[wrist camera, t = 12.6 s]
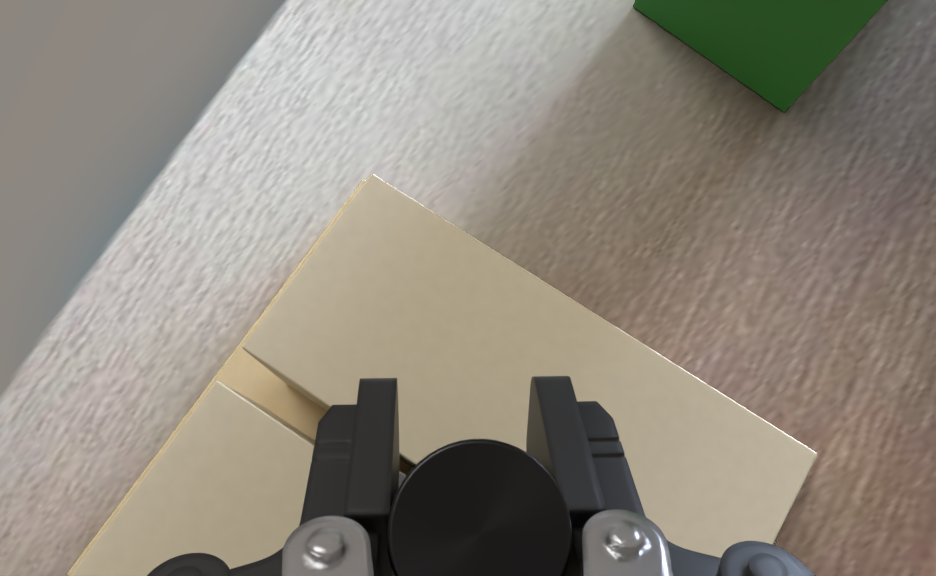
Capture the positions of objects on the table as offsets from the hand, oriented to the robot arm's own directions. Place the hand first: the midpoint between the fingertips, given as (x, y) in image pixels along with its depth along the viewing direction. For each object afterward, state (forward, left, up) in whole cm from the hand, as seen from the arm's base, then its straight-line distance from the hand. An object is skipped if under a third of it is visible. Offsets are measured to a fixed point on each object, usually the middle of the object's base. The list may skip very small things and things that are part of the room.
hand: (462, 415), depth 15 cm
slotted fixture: (+1, -2, -12) cm, 12 cm away
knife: (+1, -2, -10) cm, 10 cm away
